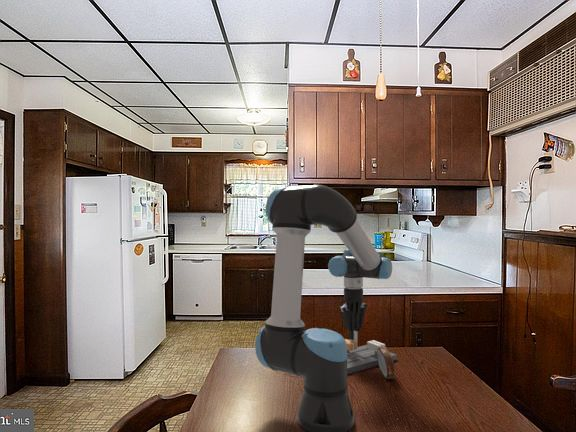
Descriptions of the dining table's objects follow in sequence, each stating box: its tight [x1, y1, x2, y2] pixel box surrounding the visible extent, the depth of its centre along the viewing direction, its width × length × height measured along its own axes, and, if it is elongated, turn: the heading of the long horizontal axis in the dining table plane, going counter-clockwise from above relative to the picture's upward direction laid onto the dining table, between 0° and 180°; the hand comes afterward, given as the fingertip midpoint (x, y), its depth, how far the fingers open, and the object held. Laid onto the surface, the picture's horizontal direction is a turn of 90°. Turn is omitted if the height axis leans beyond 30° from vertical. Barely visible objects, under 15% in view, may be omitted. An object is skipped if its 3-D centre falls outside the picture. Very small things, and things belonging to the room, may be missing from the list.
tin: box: [378, 346, 395, 380], centre depth 133 cm, size 15×3×8 cm, turn 178°
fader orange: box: [344, 338, 358, 353], centre depth 148 cm, size 4×6×4 cm, turn 32°
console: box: [347, 344, 398, 375], centre depth 145 cm, size 30×15×3 cm, turn 122°
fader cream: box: [366, 339, 386, 355], centre depth 146 cm, size 4×6×4 cm, turn 32°
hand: (353, 347), depth 149 cm, fingers closed
